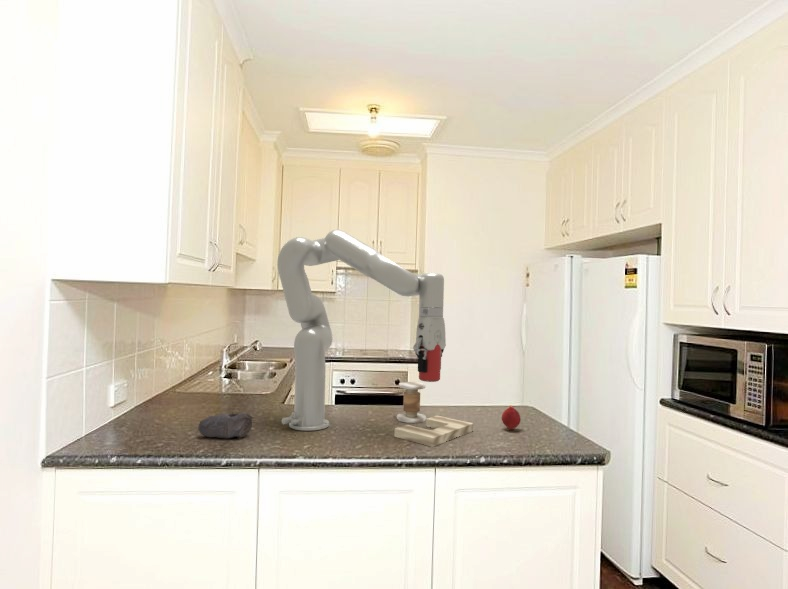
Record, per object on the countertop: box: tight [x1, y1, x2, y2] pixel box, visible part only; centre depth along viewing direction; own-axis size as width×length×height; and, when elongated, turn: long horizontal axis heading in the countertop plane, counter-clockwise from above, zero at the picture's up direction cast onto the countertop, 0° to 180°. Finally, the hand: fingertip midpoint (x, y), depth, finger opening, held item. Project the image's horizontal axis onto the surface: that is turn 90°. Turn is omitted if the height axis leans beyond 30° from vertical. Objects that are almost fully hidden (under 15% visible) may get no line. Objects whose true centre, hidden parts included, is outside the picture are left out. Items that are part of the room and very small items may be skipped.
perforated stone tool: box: [197, 412, 253, 439], centre depth 139 cm, size 15×5×7 cm, turn 91°
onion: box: [501, 404, 521, 431], centre depth 155 cm, size 6×6×8 cm
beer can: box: [418, 342, 442, 383], centre depth 150 cm, size 7×7×12 cm
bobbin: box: [396, 381, 427, 424], centre depth 165 cm, size 10×10×12 cm
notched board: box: [394, 415, 474, 448], centre depth 148 cm, size 22×14×2 cm, turn 140°
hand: (429, 370), depth 150 cm, fingers closed on beer can, 6 cm apart
